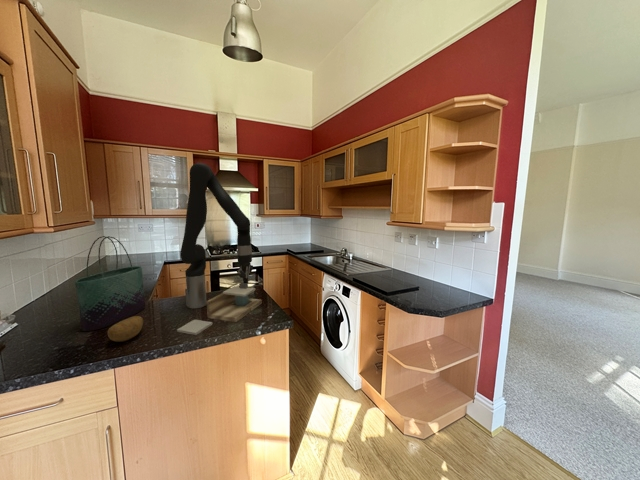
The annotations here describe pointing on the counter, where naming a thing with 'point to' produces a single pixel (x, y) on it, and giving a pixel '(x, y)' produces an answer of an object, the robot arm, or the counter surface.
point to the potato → (125, 329)
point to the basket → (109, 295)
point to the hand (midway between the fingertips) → (245, 284)
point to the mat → (194, 327)
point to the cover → (239, 290)
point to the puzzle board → (229, 308)
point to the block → (241, 300)
